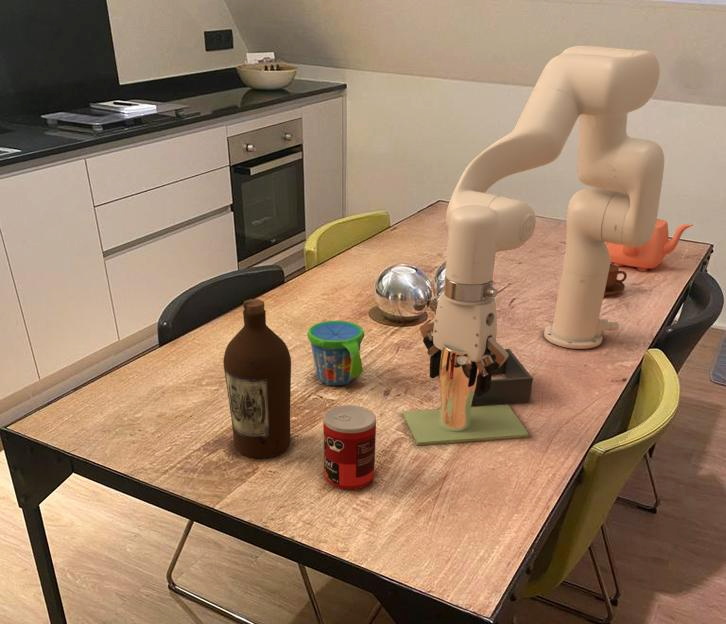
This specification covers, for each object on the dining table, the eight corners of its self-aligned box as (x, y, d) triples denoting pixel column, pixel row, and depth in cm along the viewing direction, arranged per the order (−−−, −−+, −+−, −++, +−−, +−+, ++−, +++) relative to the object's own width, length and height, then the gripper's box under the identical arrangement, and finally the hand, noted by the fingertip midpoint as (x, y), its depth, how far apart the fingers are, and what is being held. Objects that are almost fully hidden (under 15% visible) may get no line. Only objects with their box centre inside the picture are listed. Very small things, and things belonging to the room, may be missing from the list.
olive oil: (249, 423, 134) (239, 286, 120) (304, 436, 131) (300, 296, 117) (219, 453, 126) (204, 309, 112) (276, 466, 123) (268, 320, 109)
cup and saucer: (605, 281, 201) (610, 257, 198) (632, 296, 192) (638, 272, 188) (566, 285, 198) (570, 261, 194) (591, 301, 188) (596, 276, 185)
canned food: (322, 464, 124) (322, 405, 118) (371, 463, 124) (373, 404, 118) (325, 491, 118) (324, 430, 111) (376, 490, 118) (378, 428, 112)
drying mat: (507, 407, 142) (508, 404, 141) (528, 437, 133) (529, 434, 132) (403, 414, 138) (403, 411, 138) (416, 445, 130) (417, 442, 129)
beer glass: (472, 435, 132) (481, 355, 123) (432, 430, 133) (438, 350, 124) (475, 416, 137) (484, 338, 129) (437, 411, 138) (443, 334, 130)
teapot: (681, 273, 208) (695, 221, 200) (620, 276, 204) (632, 224, 196) (646, 252, 222) (658, 203, 215) (589, 255, 219) (598, 206, 211)
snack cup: (296, 367, 154) (294, 319, 148) (343, 358, 158) (343, 312, 152) (327, 400, 142) (327, 350, 136) (377, 390, 146) (379, 341, 140)
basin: (506, 371, 154) (509, 348, 151) (529, 402, 143) (533, 378, 141) (442, 375, 152) (444, 352, 149) (460, 407, 141) (463, 382, 138)
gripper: (527, 295, 119) (513, 393, 128) (438, 269, 128) (432, 362, 138) (500, 308, 114) (488, 409, 124) (410, 280, 124) (406, 376, 133)
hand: (458, 384), depth 131 cm, fingers open, 9 cm apart
